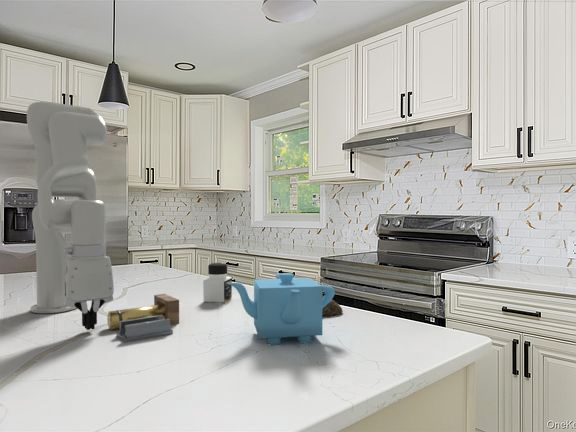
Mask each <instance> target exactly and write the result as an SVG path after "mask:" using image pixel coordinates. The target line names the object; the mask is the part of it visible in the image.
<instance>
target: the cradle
mask: <svg viewBox="0 0 576 432" xmlns="http://www.w3.org/2000/svg"><path fill="white" fill-rule="evenodd" d="M118 330H119V331H117V332H116V336H117V337H118V338H119V339H120V340H121V341H123V342H124V343H129V342H135V341H141V340H146V339H151V338H156V337H164V336H168V335H173V334H174V332H173V329H172V328H171V325H170V319H163V315H156V316H150V317H143V318H137V319H130V320H123V321H119V329H118Z"/></svg>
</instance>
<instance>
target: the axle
mask: <svg viewBox="0 0 576 432" xmlns="http://www.w3.org/2000/svg"><path fill="white" fill-rule="evenodd" d="M156 315H163V319H165V304H161V305H154V304H153V305H147V306H141V307H140V306H139V307H134V308H133V307H132V308H125V309H116V310H111V311H110V310H109V311H108V312H107V327H108V330H110V331H111V330H112V331H113V330H119V321H123V320H130V319H137V318H143V317H150V316H156Z"/></svg>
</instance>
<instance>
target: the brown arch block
mask: <svg viewBox="0 0 576 432" xmlns="http://www.w3.org/2000/svg"><path fill="white" fill-rule="evenodd" d="M153 303H154V304H153V306H154V305H161V304H165V319H170V326H171V325H175V324H179V323H180V299H178V298H176V297H173V296H171V295H168V294H166V293H161V294H154V295H153Z"/></svg>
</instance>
